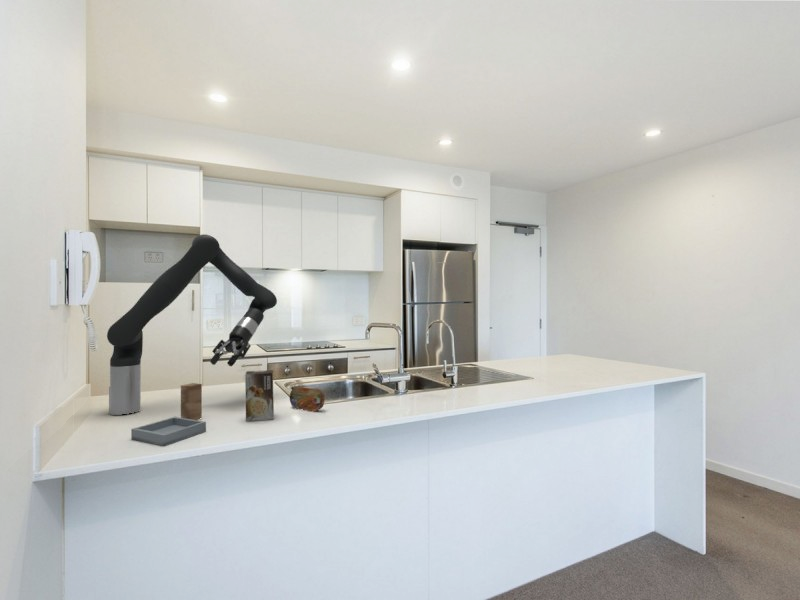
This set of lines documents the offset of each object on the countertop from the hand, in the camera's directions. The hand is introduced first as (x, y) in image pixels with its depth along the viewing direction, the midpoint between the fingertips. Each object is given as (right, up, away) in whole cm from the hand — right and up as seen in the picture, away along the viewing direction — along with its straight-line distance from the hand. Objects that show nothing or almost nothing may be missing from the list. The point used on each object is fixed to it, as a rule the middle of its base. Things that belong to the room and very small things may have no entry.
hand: (220, 364), depth 151 cm
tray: (-3, -17, -27) cm, 32 cm away
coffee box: (+18, -17, -9) cm, 27 cm away
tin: (+31, -17, +2) cm, 36 cm away
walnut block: (-5, -17, -11) cm, 21 cm away
